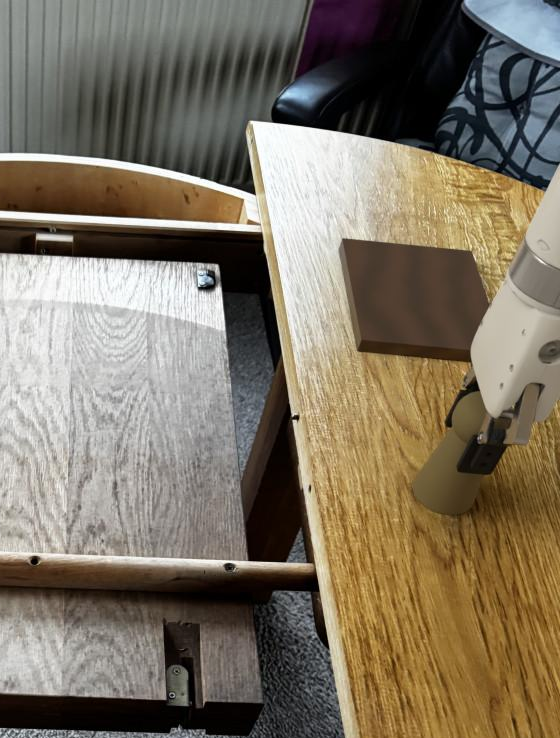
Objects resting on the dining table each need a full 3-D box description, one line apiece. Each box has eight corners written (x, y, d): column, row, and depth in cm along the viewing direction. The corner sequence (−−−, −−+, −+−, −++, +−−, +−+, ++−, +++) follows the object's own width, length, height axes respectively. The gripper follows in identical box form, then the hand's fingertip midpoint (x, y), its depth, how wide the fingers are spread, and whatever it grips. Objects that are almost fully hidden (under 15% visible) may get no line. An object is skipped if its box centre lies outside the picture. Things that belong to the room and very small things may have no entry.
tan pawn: (407, 503, 89) (452, 413, 80) (417, 463, 92) (461, 373, 83) (469, 523, 88) (522, 434, 79) (477, 481, 91) (529, 392, 82)
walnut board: (467, 261, 114) (472, 250, 113) (500, 364, 103) (506, 353, 101) (338, 249, 114) (342, 237, 113) (357, 351, 102) (361, 339, 101)
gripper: (644, 345, 66) (527, 520, 81) (582, 215, 76) (488, 392, 91) (540, 335, 66) (441, 512, 81) (492, 206, 76) (412, 384, 90)
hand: (467, 447), depth 85 cm, fingers closed on tan pawn, 5 cm apart
